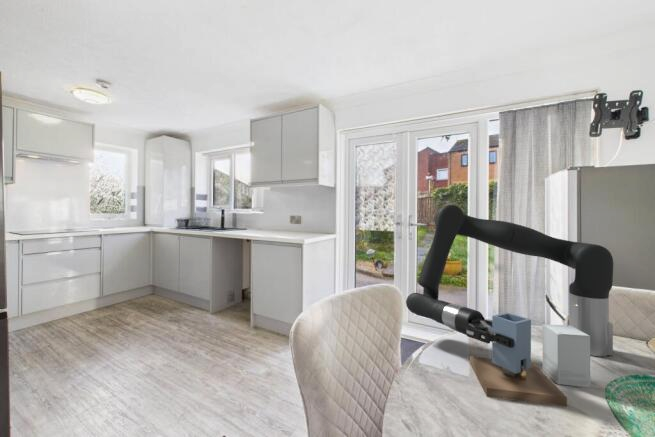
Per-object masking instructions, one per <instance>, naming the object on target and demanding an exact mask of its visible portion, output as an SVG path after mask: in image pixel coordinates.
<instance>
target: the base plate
mask: <svg viewBox="0 0 655 437" xmlns="http://www.w3.org/2000/svg"><path fill="white" fill-rule="evenodd" d="M469 364H470V367H471V368H472V370H473V372H474V374H475V376H476V379H477V380H478V382H479V384H480V386H481V388H482V390H483V392H484V394H485V396H486V397H488V398H489V397H490V398H496V399H504V400H512V401H520V402H530V403H536V404H545V405H551V406H559V407H560V406H561V407H568V396H566V394H564V393H563V392H562V390H560V389H559V387H558V386H557V385H556V384H555V383H554V382H553V381H552V380H551V379H550V378H549V377H548V375H547V374H545V372H544V371H543V370H541V369H540V368H539V366H538V365H536V363H535V362H533V361H531V368H529V369H527V370H526V369H524V368H523V366H522V370H525V371H526V380H525V381H524V380H521V379H520V377H517V378H515V379H514V378H512V377H510V376H508V375H506V374H504V373H502V367H501V366H499V365H497V364H494V363H492V357H484V356H473V355H469Z"/></svg>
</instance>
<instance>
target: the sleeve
mask: <svg viewBox="0 0 655 437" xmlns="http://www.w3.org/2000/svg"><path fill="white" fill-rule="evenodd" d="M491 320H492V331H495V332H497V334H502V335H504V336H507V337H510V338H512V339H513V340H514V347H513V348H509V347H507V346H504V345H502V344H499V343H493V342H491V346H492V347H491V350H492V351H491V358H492V363H494V364H497V365H499V366H501V367H503V368H505V369H507V370H509V371H511V372H514V373H516V374H517V373H519V372H521V360H522V366H523V368H524V369H526V370H527V369H529V368H531V362H532V352H531V351H532V319H531V318H527V317H523V316H520V315H517V314H514V313H511V312H503V313H499V314H495V315H492V319H491Z"/></svg>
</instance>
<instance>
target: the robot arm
mask: <svg viewBox="0 0 655 437" xmlns="http://www.w3.org/2000/svg"><path fill="white" fill-rule="evenodd" d="M433 221H434V225H435V229H434V230H435V231H434V236H433V238H432V243H431V245H430V248H429V250H428V253H427V255H426V256H425V259H424V261H423V265H422V267H421V270H420V273H419V276H418V278H417V279H418V281H417V283H418V284H419V286H421V287H422V288H423V290H422V292H423V293H420V292H413V293H411V294H409V295H408V296H407V298H406V299H405V300H406V301H405V304H406V308H407V309H408V310H409V312H411V313H412V314H414V315H416V316H417V315H418V316H420V317H424V318H426V319H429V320H433V321H435V322H436V323H439V324H441V325H444V326H446V327H448V328H450V329H451V330H453V331H456V332H458V333H460V334H463V335H465V336H466V337H469V338H470V339H474V340H477V341H480V342H481V343H482V342H483V343H484V344H491V343H492V342H493V343H499V344H502V345H504V346H507V347H509V348H513V347H514V340H513V339H512V338H510V337H507V336H504V335H502V334H497V332H495V331H492V319H487V318H486V319H485V316H484V315H483V313H482V312H480V311H478V310H476V309H472V308H470V307H466V306H463V305H461V304H456V303H451V302H447V301H444V300H441V299H439V295H440V294H439V287H440V284H441V281H442V277H443V275H444V272H445V267H446V265H447V261H448V258H449V255H450V251H451V248H452V246H453V243H454V242H455V239H456V236H463V237H467V238H471V239H475V240H477V241H479V242H482V243H485V244H487V245H490V246H493V247H497V248H499V249H501V250H506V251H509V252H513V253H516V254H520V255H524V256H525V255H526V256H530V257H531V256H532V257H537V258H544V259H547V260H551V261H553V262H556V263H559V264H561V265H563V266H566V267H569V268H571V269H573V270H574V271H575V272H574V281H572V282H571V283H570V284H569V286H568V301H569V302H568V305H569V307H568V314H569V316H568V317H569V318H568V320H569V324H568V326H573V327H575V328H576V329H578V330H580V331H582V332H584V333H585V334H587V335H589V336H590V356H592V357H593V356H594V357H602V358H603V357H608V356H607V355H609V356H611V355H613V356H614V345H613V344H614V339H613V338H614V336H613V335H614V325H613V323H612V322H610V298H609V297H610V292H611V291H612V288H613V280H614V258H613V256H612V253H611V252H610V250H609V249H608V248H606V247H605V246H602V245H599V244H595V243H587V242H579V241H578V242H577V241H572V240H568V239H567V240H566V239H563V238H562V239H560V238H556V237H552V236H550V235H548V234H545V233H543V232H541V231H538V230H536V229H534V228H531V227H527V226H525V225H521V224H517V223H513V222H508V221H505V220H496V219H485V218H477V217H473V216H470V215H469V214H468V215H467V214H465V213H464V212H463V210H462V209H461V207H459V206H458V205H455V204H447V205H444V206H442V207H440V208H439V210H437V212H436V213H435V215H434V218H433Z"/></svg>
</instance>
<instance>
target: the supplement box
mask: <svg viewBox="0 0 655 437" xmlns="http://www.w3.org/2000/svg"><path fill="white" fill-rule="evenodd" d="M541 329H542V330H541V331H542V333H541V334H542V336H541V337H542V338H541V340H542V372H543V373H546V375H547V376H549V377H550V378H551V379H552V380H553V381H554V382H555V383H556V384H558V385H562V386H563V385H565V386H573V387H582V388H583V387H584V388H591V355H590V336H589V335H587V334H585V333H584V332H582V331H580V330H578V329H576V328H575V327H573V326H569V325H565V324H563V325H562V324H547V323H545V324H544V323H543V324H542V328H541Z"/></svg>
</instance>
